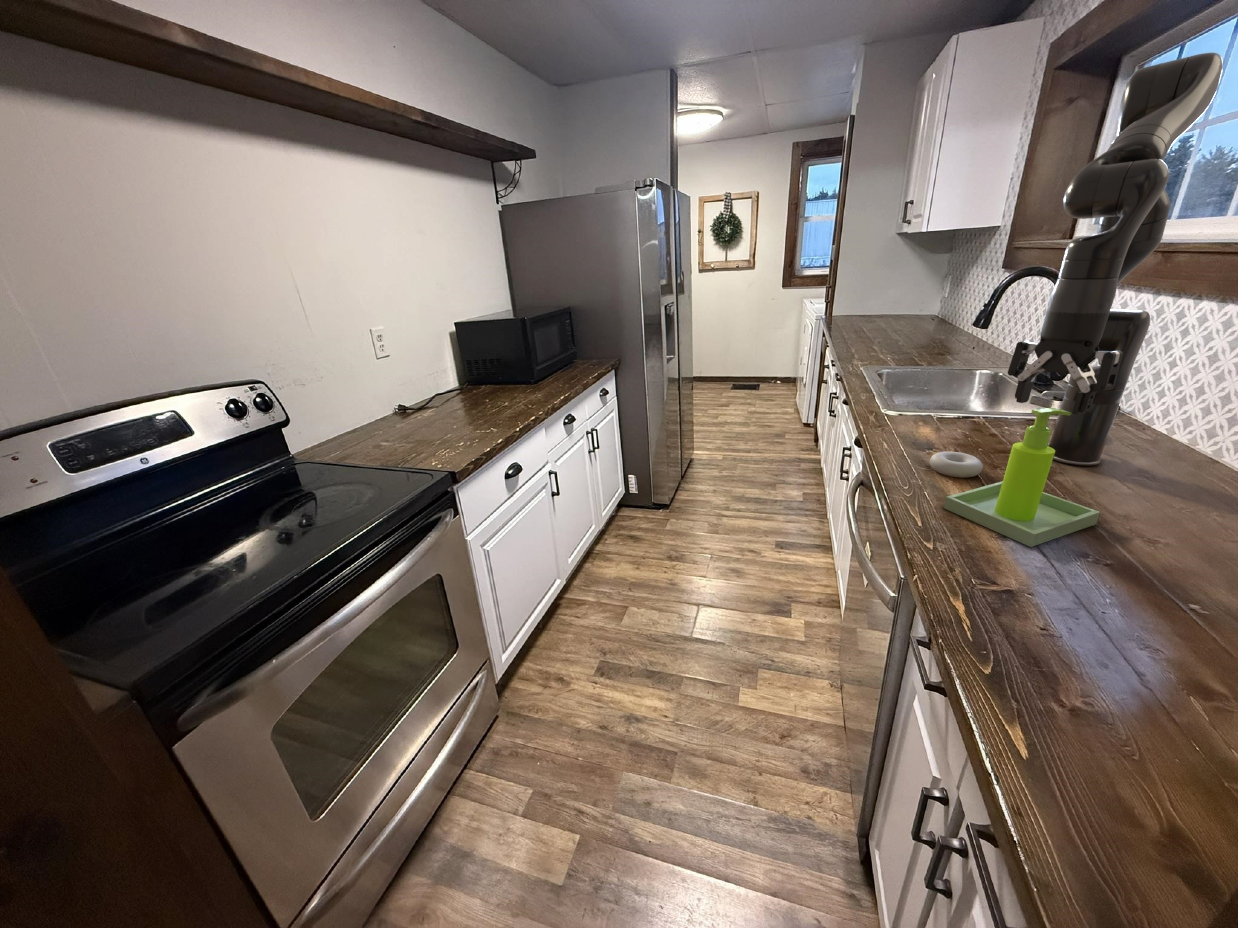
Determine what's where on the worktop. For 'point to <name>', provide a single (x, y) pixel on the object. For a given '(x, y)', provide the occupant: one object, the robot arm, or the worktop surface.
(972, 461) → the donut
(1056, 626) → the worktop surface
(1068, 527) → the tray
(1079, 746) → the worktop surface
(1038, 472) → the soap dispenser
